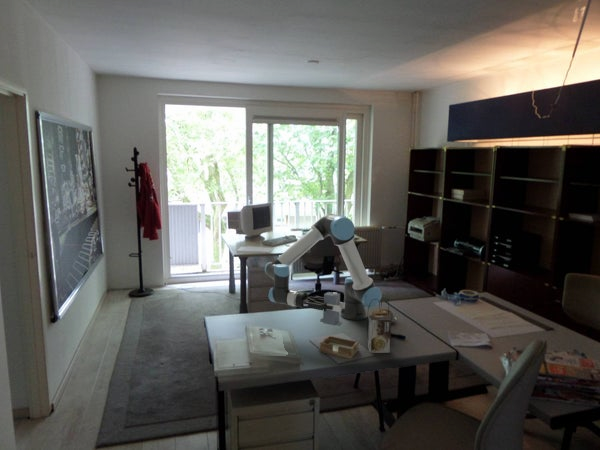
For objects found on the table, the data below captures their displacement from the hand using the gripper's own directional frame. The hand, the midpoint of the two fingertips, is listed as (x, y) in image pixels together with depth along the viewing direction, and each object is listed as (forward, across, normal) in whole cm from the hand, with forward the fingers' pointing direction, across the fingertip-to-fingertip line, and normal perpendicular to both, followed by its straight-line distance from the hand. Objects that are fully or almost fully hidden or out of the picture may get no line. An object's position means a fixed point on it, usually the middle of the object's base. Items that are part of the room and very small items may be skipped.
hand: (342, 307), depth 196 cm
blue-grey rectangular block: (-5, 0, -8) cm, 10 cm away
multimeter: (+14, -22, -20) cm, 33 cm away
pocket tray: (0, +3, -20) cm, 20 cm away
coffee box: (+16, -8, -20) cm, 27 cm away
